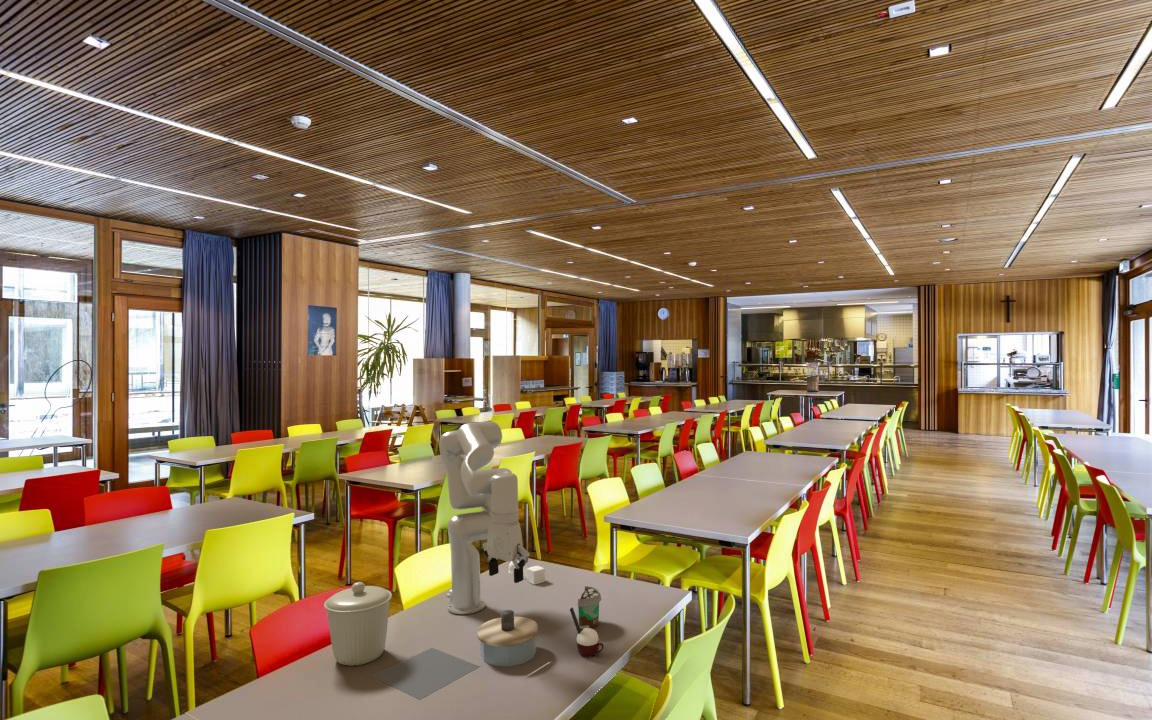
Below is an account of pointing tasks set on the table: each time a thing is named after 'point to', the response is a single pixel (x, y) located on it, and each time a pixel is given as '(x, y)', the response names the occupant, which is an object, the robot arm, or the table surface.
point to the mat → (425, 672)
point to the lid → (507, 630)
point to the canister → (358, 623)
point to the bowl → (508, 653)
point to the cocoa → (586, 639)
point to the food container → (589, 608)
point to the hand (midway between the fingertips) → (506, 577)
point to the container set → (530, 573)
